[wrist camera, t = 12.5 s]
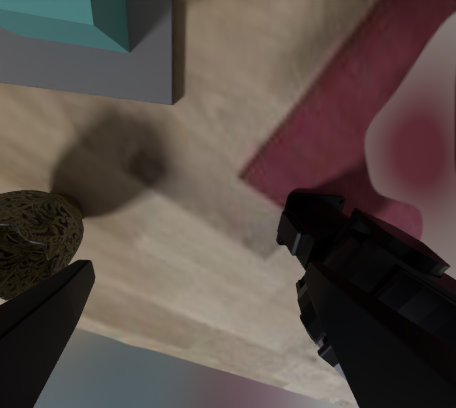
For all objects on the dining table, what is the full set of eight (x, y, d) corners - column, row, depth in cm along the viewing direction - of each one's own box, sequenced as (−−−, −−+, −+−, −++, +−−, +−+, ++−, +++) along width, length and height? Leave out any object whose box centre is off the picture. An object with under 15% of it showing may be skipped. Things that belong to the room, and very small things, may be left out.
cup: (20, 231, 19) (-88, 305, 12) (13, 159, 16) (-133, 199, 9) (104, 246, 21) (53, 317, 14) (110, 183, 18) (51, 231, 11)
